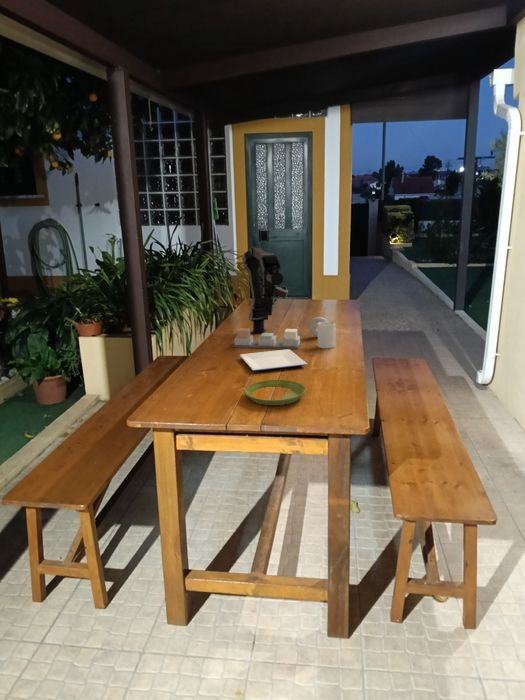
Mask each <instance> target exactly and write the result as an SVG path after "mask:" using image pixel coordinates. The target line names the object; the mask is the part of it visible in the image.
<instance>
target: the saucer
mask: <svg viewBox="0 0 525 700" xmlns="http://www.w3.org/2000/svg"><path fill="white" fill-rule="evenodd" d="M266 387H281V388H287V389H291V391H293V392H291V391H290V392H291V393H288V394H287V392H286V394H285V395H284V396H283V395H282V396H283V397H282V399H281V400H263V399H257V398H254V397H251V395H252V394H253V392H254V391H256V390H258V389H261V388H266ZM305 392H306V386H304V385H303V384H302V383H301V382H297V381H294V380H287V379H270V380H269V379H268V380H262V381H257V382H254V383H251V384H249V385H248V386H247V387H246V388H244V393H245V395H246V396H247V398H249V399H250V400H251V401H252V402H254V403H255V402H256V403H255V404H258V403H259V404H258V405H261V404H265V405H264V406H267V405H280V406H286V405H285V404H287V405H290V404H293V403H295V402H297V401H298V400H299V399H300V398H301V399H302V397H303V396H304V394H305ZM292 402H293V403H292ZM289 403H290V404H289Z"/></svg>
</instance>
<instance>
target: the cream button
mask: <svg viewBox="0 0 525 700" xmlns="http://www.w3.org/2000/svg"><path fill="white" fill-rule="evenodd" d="M284 336H285V339H294V340H296V339H297V336H298V328H285V330H284Z"/></svg>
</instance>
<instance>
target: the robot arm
mask: <svg viewBox="0 0 525 700" xmlns="http://www.w3.org/2000/svg"><path fill="white" fill-rule="evenodd" d="M241 261H242V264H243V267H244V269H245V270H246V271H247V273H248V278H249V283H250V290H251V296H252V302H251V305H250V311H249V312H248V313H249V314H248V320H249V321H250V322H252V330H251V331H250V334H262V333H266V331H267V329H266V328H265V321H267V320H269V316H272V315H273V311H274V310H273V309H274V305H275V303H276V302H277V301H278V299H276V298H275V297H277V298H282V299H287V297H288V293H289V290H288V287H287V286H284V285H283V286H282V287H281V286H280V285H281V284H282V283H283V281H284V276H283V274H282V273H281V272H280V271H281V264H280V262H279V261H280V260H279V258H278V256H277V255H276V254H275V253H268V252H266V251H265V250H263V249H262V247H260V246H251V247H249V250H247V251H246V252H244V253H243V255H242V259H241ZM260 267H261V271H262V288H263V293H262V290H261V281H260V275H259V269H260ZM279 286H280V287H279Z"/></svg>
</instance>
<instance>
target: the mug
mask: <svg viewBox="0 0 525 700" xmlns="http://www.w3.org/2000/svg"><path fill="white" fill-rule="evenodd" d="M317 330H318V337H317V347H318V348H321V349H332V348H333V349H334V348H335V347H336V322H334V321H328V320H327V321H326V322H319V323H318V324H317Z"/></svg>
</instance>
